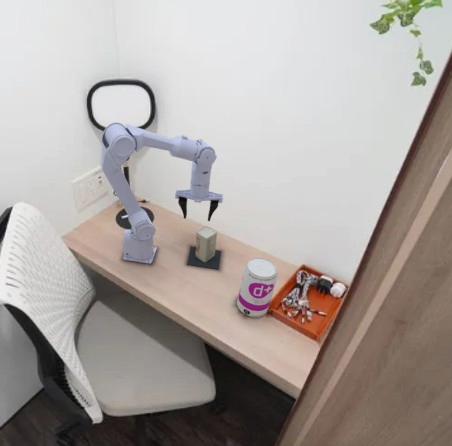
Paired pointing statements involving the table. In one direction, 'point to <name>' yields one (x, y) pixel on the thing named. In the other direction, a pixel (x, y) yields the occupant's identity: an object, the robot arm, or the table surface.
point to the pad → (195, 261)
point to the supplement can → (257, 287)
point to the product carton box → (206, 243)
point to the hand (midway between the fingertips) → (197, 218)
